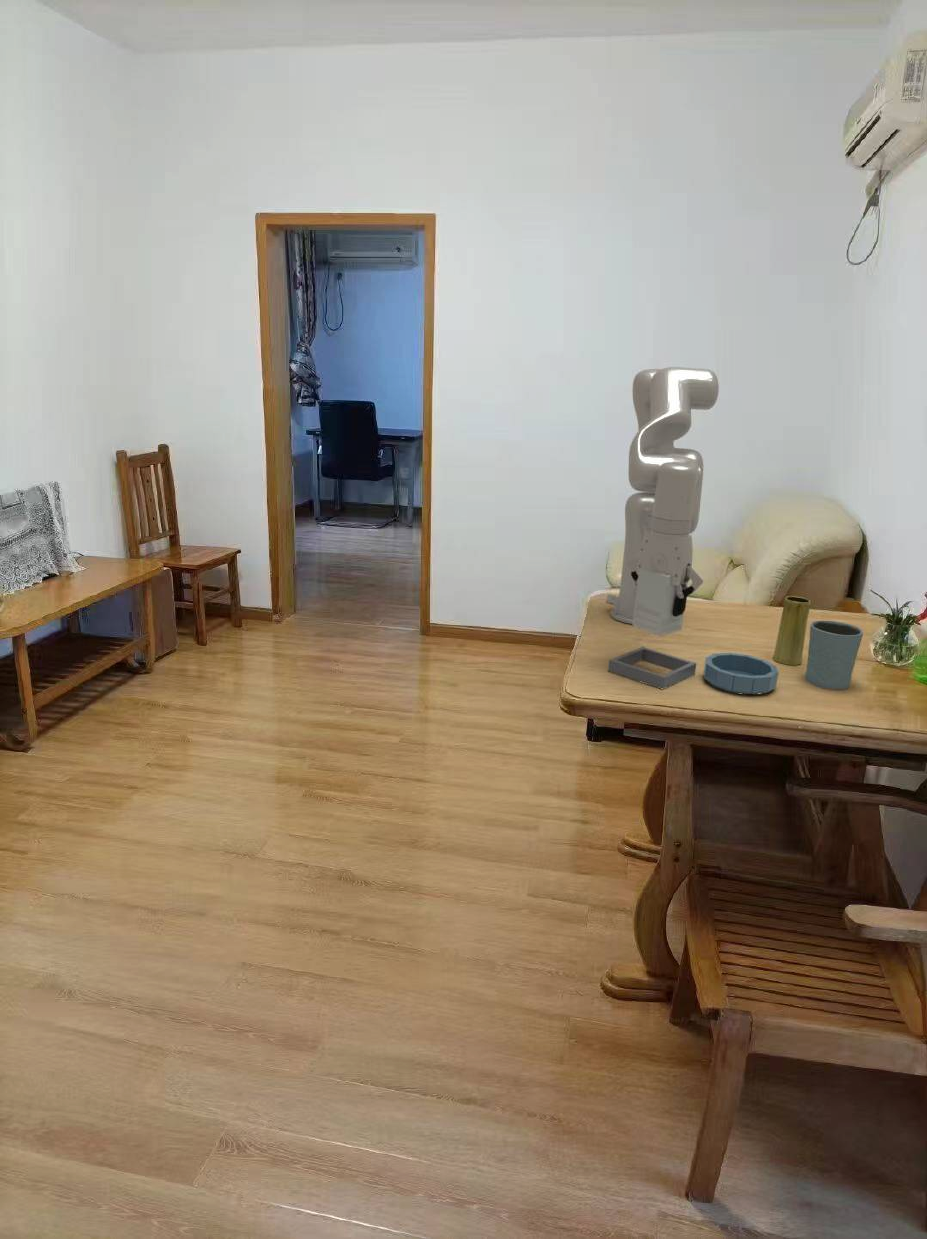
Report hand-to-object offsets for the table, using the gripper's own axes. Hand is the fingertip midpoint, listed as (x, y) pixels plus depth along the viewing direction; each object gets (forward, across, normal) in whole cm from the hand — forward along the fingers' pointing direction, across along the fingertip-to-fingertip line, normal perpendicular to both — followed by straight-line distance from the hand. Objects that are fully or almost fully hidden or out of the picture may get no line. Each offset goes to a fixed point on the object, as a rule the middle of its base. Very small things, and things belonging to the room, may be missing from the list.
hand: (659, 609), depth 175 cm
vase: (+14, +17, +30) cm, 37 cm away
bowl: (+14, +16, +8) cm, 22 cm away
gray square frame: (+14, +1, -1) cm, 14 cm away
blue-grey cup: (+14, +28, +24) cm, 39 cm away
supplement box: (+4, 0, 0) cm, 4 cm away
